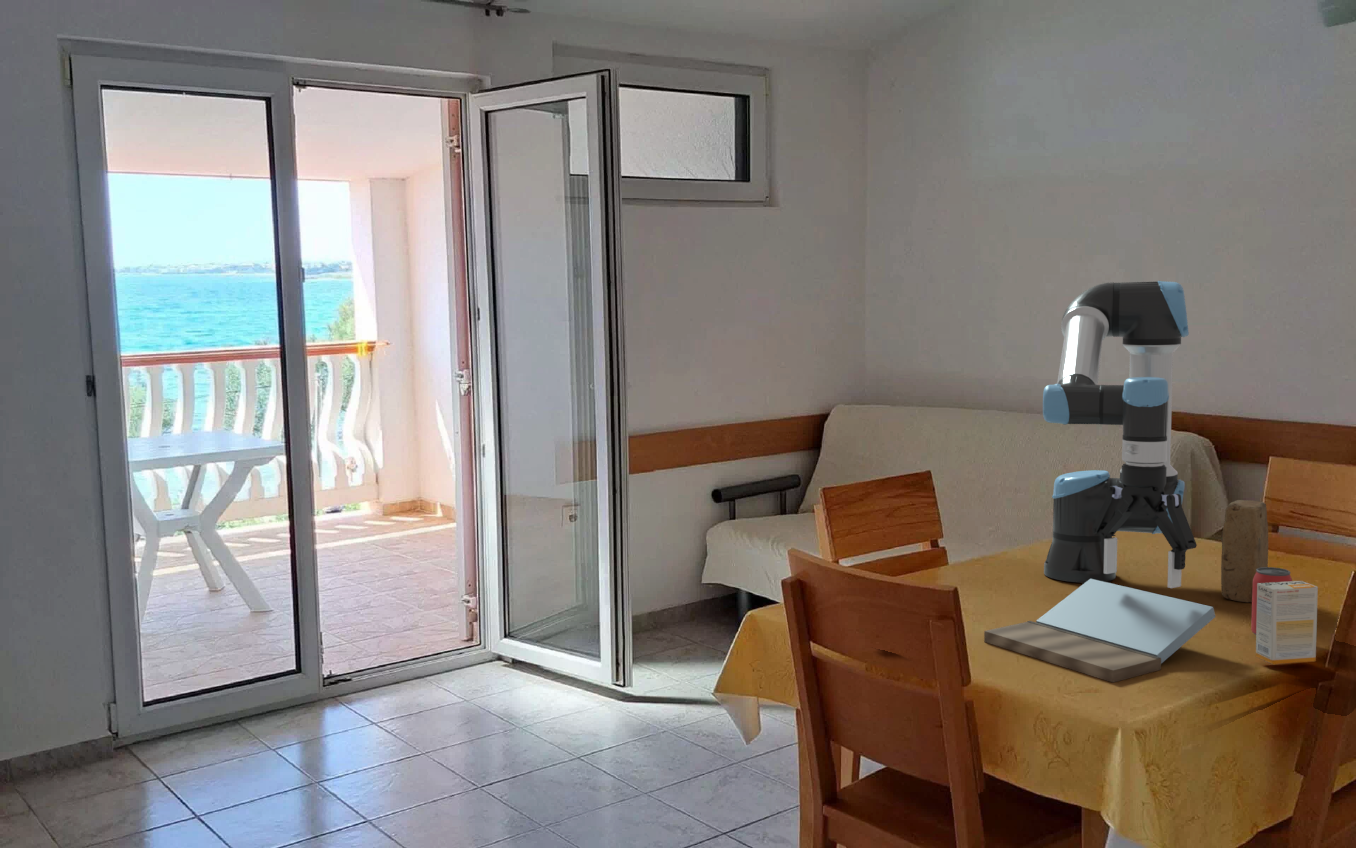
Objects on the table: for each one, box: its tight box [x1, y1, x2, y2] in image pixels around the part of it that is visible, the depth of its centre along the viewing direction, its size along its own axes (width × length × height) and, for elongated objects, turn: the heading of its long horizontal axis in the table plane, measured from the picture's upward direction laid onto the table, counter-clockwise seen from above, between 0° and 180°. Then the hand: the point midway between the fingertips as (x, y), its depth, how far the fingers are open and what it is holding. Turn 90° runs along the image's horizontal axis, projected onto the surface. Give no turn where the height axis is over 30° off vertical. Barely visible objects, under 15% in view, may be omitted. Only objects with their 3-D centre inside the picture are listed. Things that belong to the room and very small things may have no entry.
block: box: [1220, 499, 1269, 603], centre depth 240 cm, size 11×8×20 cm
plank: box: [1035, 579, 1216, 664], centre depth 210 cm, size 26×16×2 cm, turn 31°
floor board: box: [983, 620, 1162, 683], centre depth 203 cm, size 28×12×2 cm, turn 31°
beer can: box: [1250, 566, 1293, 636], centre depth 213 cm, size 7×7×12 cm
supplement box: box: [1255, 580, 1319, 665], centre depth 198 cm, size 8×5×13 cm, turn 97°
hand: (1141, 579), depth 212 cm, fingers open, 13 cm apart
